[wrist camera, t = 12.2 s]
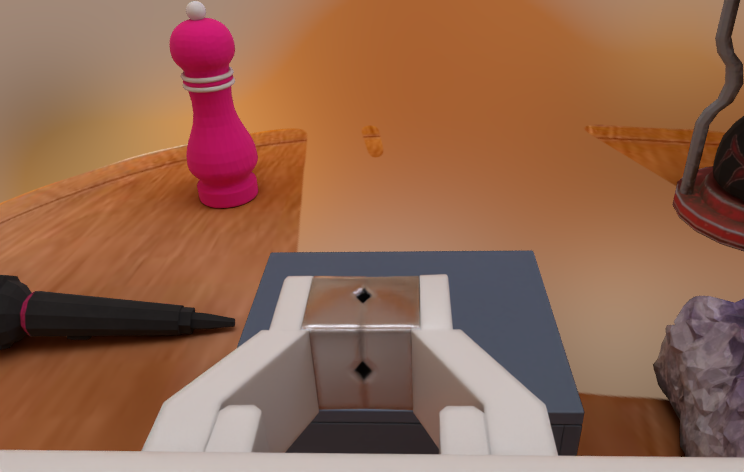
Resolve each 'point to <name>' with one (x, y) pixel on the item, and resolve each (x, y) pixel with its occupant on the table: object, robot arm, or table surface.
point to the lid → (453, 316)
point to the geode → (706, 376)
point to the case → (397, 438)
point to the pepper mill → (213, 112)
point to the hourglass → (717, 157)
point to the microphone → (91, 315)
